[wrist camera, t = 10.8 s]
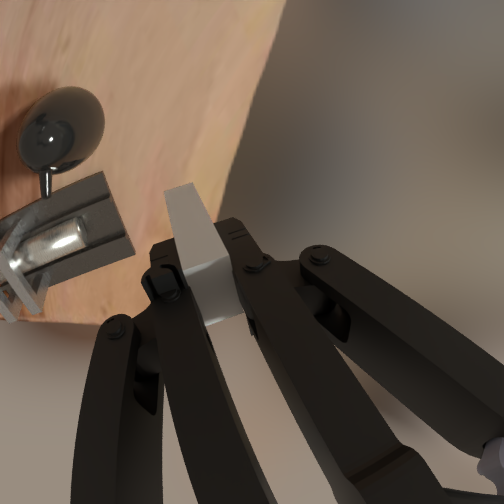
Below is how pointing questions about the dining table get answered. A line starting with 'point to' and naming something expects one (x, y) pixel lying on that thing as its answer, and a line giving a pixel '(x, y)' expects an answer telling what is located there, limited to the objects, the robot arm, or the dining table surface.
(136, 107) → the dining table surface
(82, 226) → the tube
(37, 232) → the twin arch cradle
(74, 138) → the black tall rounded dome
